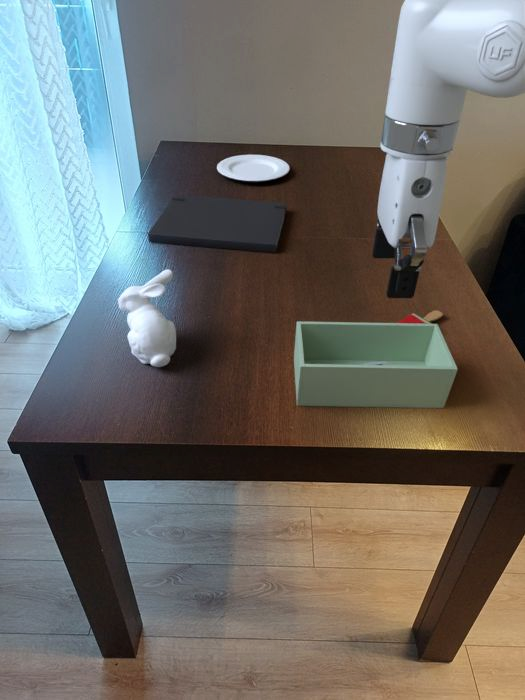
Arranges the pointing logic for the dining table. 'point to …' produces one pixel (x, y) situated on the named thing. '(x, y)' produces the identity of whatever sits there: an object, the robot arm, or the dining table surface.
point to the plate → (253, 168)
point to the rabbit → (149, 322)
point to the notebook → (220, 223)
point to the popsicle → (419, 320)
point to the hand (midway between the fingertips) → (391, 275)
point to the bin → (372, 380)
